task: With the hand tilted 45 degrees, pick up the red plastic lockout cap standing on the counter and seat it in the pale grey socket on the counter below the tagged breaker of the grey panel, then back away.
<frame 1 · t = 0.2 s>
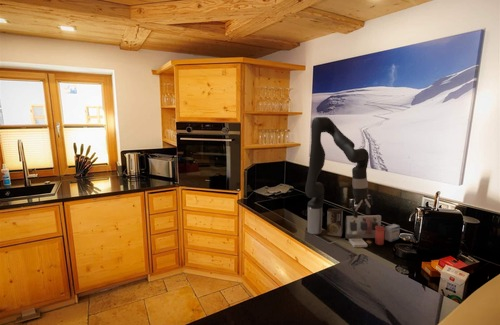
hand: (361, 215, 142), 22 cm above the counter, tool pointing down, fingers open, 8 cm apart
lockout cap: (379, 243, 157), on the counter
lockout socket: (357, 244, 156), on the counter
medicine box: (391, 239, 162), on the counter
coffee box: (334, 234, 171), on the counter
breaker panel: (362, 237, 165), on the counter
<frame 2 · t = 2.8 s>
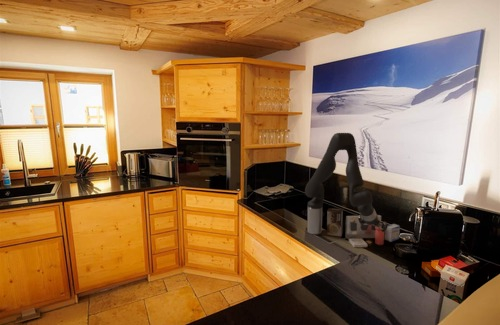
hand: (375, 228, 149), 12 cm above the counter, tool tilted 45°, fingers open, 8 cm apart
nothing on the counter moved.
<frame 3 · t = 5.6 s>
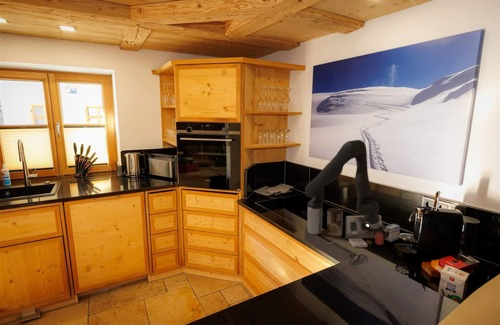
hand: (380, 235, 158), 4 cm above the counter, tool tilted 45°, fingers closed on lockout cap, 4 cm apart
lockout cap: (379, 243, 157), on the counter, touching gripper
everything else where it was.
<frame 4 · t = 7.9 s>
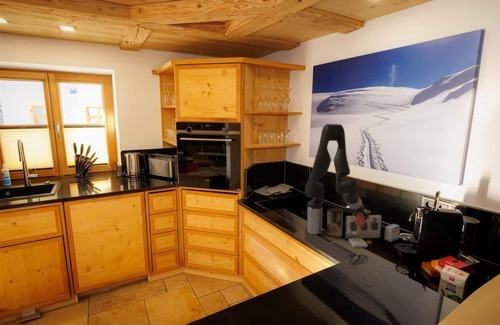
hand: (361, 217, 156), 16 cm above the counter, tool tilted 45°, fingers closed on lockout cap, 4 cm apart
lockout cap: (360, 225, 155), point 12 cm above the counter, touching gripper
everything else where it was.
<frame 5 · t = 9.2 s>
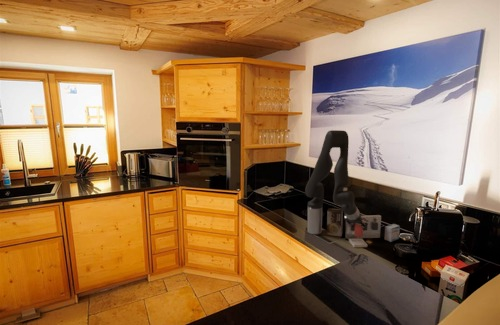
hand: (360, 227, 156), 10 cm above the counter, tool tilted 45°, fingers closed on lockout cap, 4 cm apart
lockout cap: (358, 235, 155), point 6 cm above the counter, touching gripper
everything else where it was.
when the fingers open (6 cm above the counter, at t = 10.4 s): lockout cap stays where it is, resting on lockout socket.
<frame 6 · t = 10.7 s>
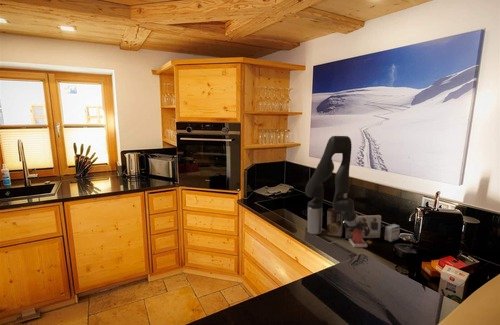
hand: (359, 232, 156), 7 cm above the counter, tool tilted 45°, fingers open, 8 cm apart
lockout cap: (357, 243, 156), point 1 cm above the counter, touching lockout socket
everything else where it was.
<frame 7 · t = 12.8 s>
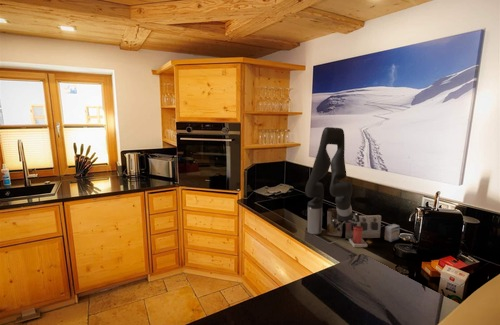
hand: (346, 228, 148), 13 cm above the counter, tool tilted 35°, fingers open, 8 cm apart
nothing on the counter moved.
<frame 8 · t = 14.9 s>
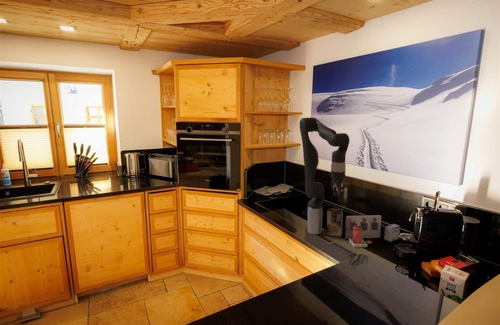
hand: (337, 198, 146), 30 cm above the counter, tool pointing down, fingers open, 8 cm apart
nothing on the counter moved.
at the end: lockout cap 0.4 cm off-centre on the lockout socket, point 0.6 cm above the lockout socket's base; lockout cap tilted 2°; the gripper is holding nothing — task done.
